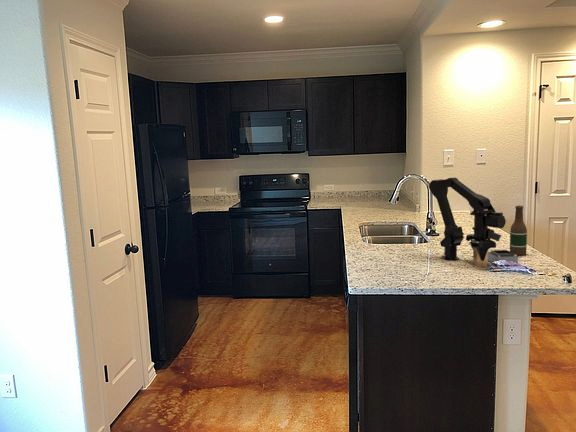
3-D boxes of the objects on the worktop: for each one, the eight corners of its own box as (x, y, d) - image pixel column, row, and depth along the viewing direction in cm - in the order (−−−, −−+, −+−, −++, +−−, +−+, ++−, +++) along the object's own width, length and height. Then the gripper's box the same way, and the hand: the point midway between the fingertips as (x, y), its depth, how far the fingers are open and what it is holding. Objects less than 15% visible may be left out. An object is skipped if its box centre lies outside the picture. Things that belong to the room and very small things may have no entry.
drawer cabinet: (487, 260, 222) (487, 249, 221) (505, 259, 222) (506, 249, 221) (497, 266, 211) (498, 255, 210) (517, 265, 211) (518, 254, 211)
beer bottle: (512, 251, 236) (514, 204, 233) (529, 253, 231) (530, 205, 227) (506, 254, 231) (507, 206, 227) (523, 257, 225) (524, 207, 222)
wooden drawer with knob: (473, 263, 217) (473, 244, 215) (482, 263, 217) (483, 243, 216) (477, 266, 212) (477, 246, 211) (487, 265, 212) (487, 245, 211)
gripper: (508, 228, 203) (507, 263, 205) (489, 221, 221) (488, 254, 224) (483, 229, 203) (482, 264, 205) (465, 222, 221) (465, 255, 223)
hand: (480, 259), depth 214 cm, fingers closed on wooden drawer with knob, 5 cm apart
